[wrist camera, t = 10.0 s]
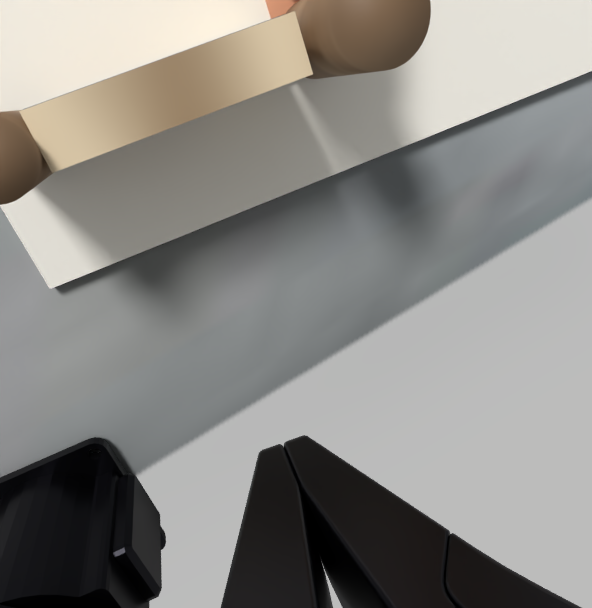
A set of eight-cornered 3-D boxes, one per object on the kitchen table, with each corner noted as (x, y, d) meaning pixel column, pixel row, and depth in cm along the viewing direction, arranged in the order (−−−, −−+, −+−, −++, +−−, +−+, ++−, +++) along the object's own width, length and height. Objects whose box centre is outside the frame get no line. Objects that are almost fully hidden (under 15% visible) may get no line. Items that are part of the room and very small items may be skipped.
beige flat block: (20, 184, 17) (-30, 218, 12) (-15, 123, 16) (-84, 133, 11) (276, 87, 18) (323, 83, 13) (256, 24, 17) (298, -5, 12)
